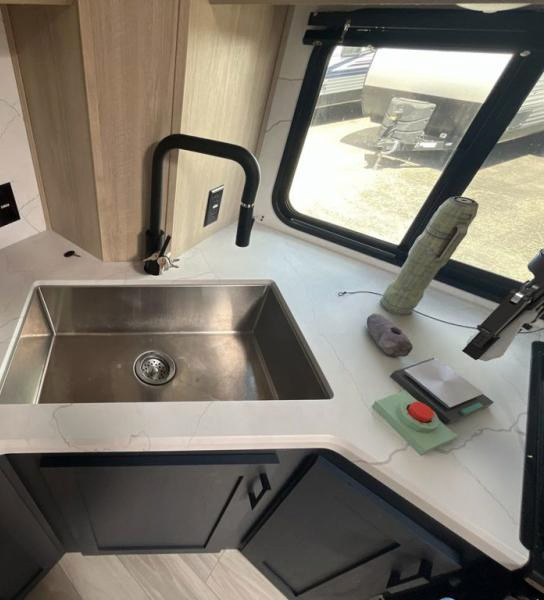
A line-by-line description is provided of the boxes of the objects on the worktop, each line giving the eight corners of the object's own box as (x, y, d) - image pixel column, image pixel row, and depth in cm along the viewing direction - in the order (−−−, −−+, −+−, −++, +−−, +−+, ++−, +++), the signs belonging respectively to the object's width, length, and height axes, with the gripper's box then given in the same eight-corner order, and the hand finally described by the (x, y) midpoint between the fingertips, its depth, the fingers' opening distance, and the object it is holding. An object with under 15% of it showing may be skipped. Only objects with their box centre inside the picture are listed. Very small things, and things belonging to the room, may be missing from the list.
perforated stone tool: (357, 323, 96) (367, 305, 92) (374, 323, 96) (385, 305, 92) (385, 362, 85) (398, 344, 80) (405, 362, 85) (419, 344, 80)
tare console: (451, 441, 68) (463, 431, 66) (420, 455, 66) (431, 446, 63) (400, 395, 77) (408, 385, 74) (371, 406, 75) (379, 396, 72)
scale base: (488, 407, 75) (496, 400, 73) (445, 425, 71) (452, 419, 69) (429, 362, 85) (435, 355, 83) (389, 376, 81) (394, 370, 80)
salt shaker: (454, 343, 70) (495, 296, 62) (481, 343, 70) (526, 297, 62) (474, 364, 66) (522, 317, 57) (503, 364, 65) (555, 318, 57)
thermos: (391, 318, 98) (464, 209, 76) (371, 294, 107) (431, 191, 85) (421, 319, 98) (502, 210, 76) (398, 295, 107) (465, 191, 85)
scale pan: (481, 395, 74) (484, 393, 73) (448, 409, 71) (450, 407, 71) (434, 360, 82) (436, 358, 81) (402, 371, 79) (404, 369, 79)
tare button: (434, 419, 68) (438, 415, 67) (420, 425, 67) (425, 420, 66) (416, 403, 71) (420, 399, 70) (402, 409, 70) (407, 404, 69)
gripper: (579, 236, 58) (490, 328, 72) (509, 254, 53) (430, 349, 68) (640, 257, 52) (531, 352, 67) (568, 280, 47) (468, 377, 62)
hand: (480, 351), depth 67 cm, fingers closed on salt shaker, 6 cm apart
